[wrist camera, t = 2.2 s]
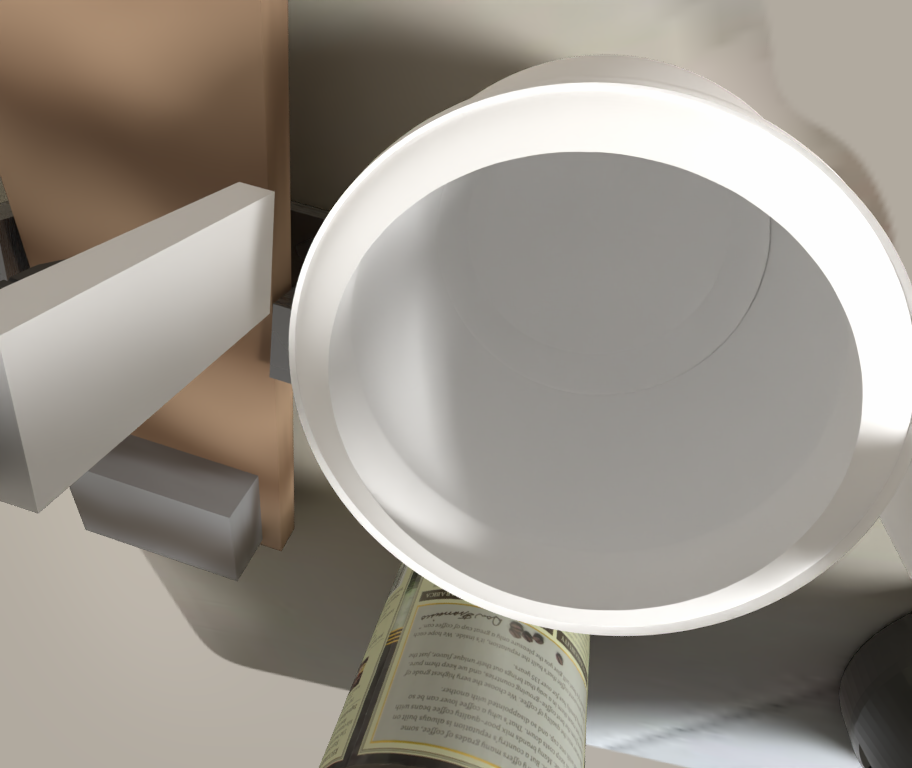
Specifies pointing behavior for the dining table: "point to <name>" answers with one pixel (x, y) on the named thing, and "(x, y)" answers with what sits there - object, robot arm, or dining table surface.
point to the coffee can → (462, 689)
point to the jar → (606, 352)
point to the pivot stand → (7, 257)
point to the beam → (145, 199)
